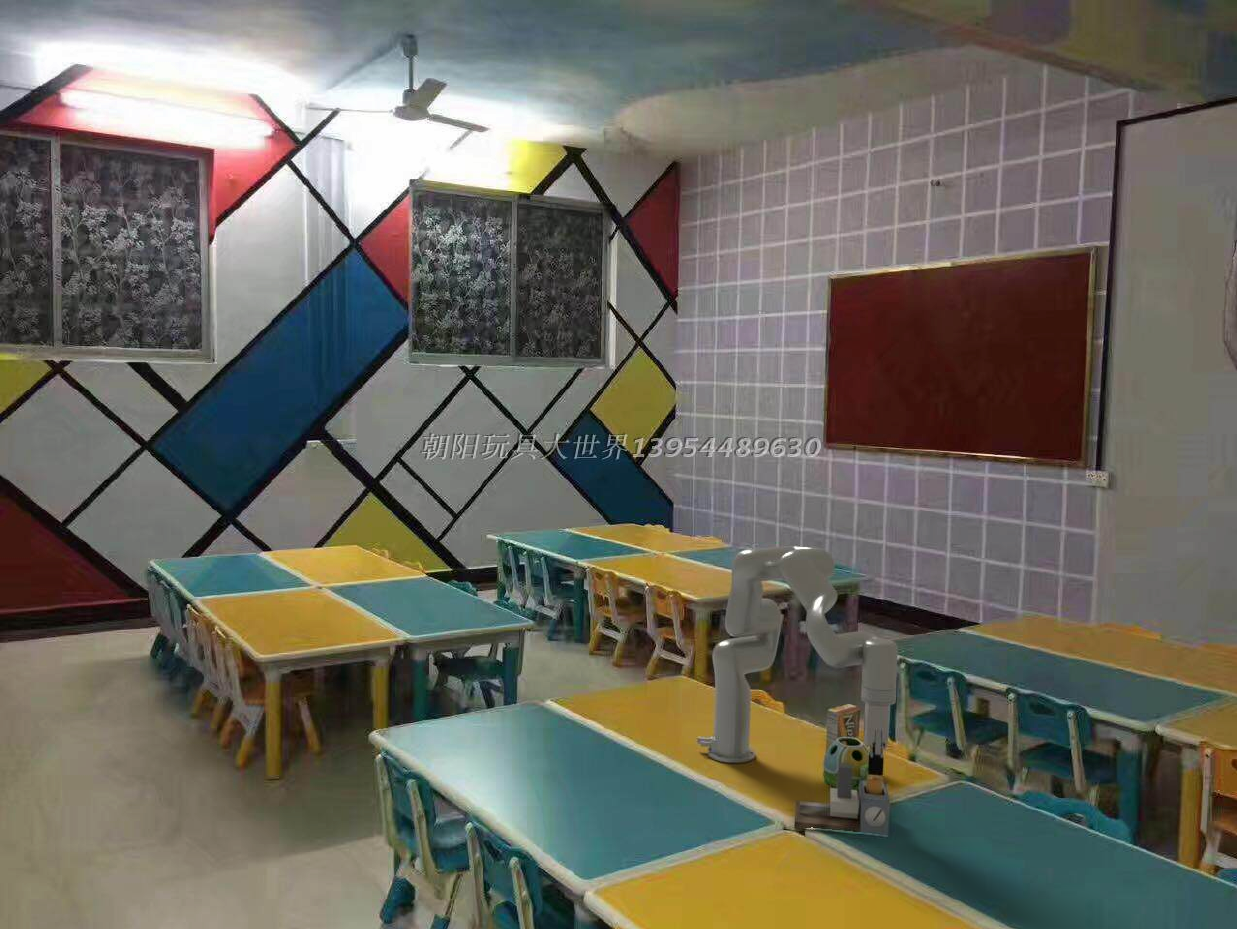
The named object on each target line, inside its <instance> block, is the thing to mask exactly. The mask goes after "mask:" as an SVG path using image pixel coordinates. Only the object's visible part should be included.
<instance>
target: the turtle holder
mask: <svg viewBox="0 0 1237 929" xmlns="http://www.w3.org/2000/svg"><path fill="white" fill-rule="evenodd" d="M842 741H845V742H847V743H846V744H842V743H840V742H842ZM868 749H869V748H868V747H866V746H865V744H864V742H863V741H862V740H860V739H857V738H853V737H840V738H837V739H836V741H834V742H833V743H832V744H831V746H830V747H829V748H828V750H827V752H826V751H825V755H824V758H823V763H822V767H823V772H822V776H823V779H824V780H823V781H824V783H825V784H827V785H830V786H833V788H837V786H838V763H846V764H852V789H851V790H857V793H859V781H860V780H867V776H868V775H870V774H869V773H868V760H869V755H870V750H868Z"/></svg>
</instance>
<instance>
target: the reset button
mask: <svg viewBox="0 0 1237 929" xmlns="http://www.w3.org/2000/svg"><path fill="white" fill-rule="evenodd" d="M883 782H884V777H882V776H880V775H868V776H867V781H866V794H876V795H882V790H883Z"/></svg>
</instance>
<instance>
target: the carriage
mask: <svg viewBox="0 0 1237 929" xmlns="http://www.w3.org/2000/svg"><path fill="white" fill-rule="evenodd" d="M851 789H852V764H846V763H838V786H837V788H836V787H830V790H829V793H830V794H829V804H830V816H837V817H847V818H857V814H858V804H859V795H858V792H857V790H851Z"/></svg>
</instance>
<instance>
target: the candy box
mask: <svg viewBox="0 0 1237 929" xmlns="http://www.w3.org/2000/svg"><path fill="white" fill-rule="evenodd" d="M860 717H861V708H860V707H859V706H856V705H853V704H849V703H847V704H844V705H841V706H836V707H832V708H829V709H828V710H827V716H826V719H827V720H826V736H825V753H826V752H827V750H828V748H829V747H830V746H831V744H832V743H833V742H834V741H836V739H837V738H840V737H853V738H857V739H859V736H860V719H861V718H860ZM859 740H860V739H859ZM840 743H842V744H846V743H847V742H845V741H842V742H840Z"/></svg>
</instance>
